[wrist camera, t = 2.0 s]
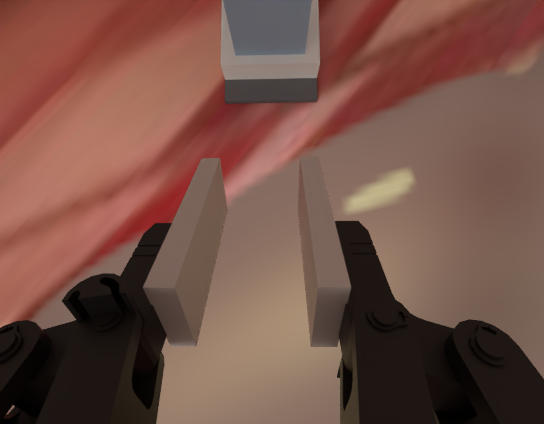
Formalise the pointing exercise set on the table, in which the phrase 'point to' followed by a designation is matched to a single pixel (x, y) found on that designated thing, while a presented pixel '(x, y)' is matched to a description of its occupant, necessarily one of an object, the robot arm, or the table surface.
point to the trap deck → (271, 70)
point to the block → (268, 26)
